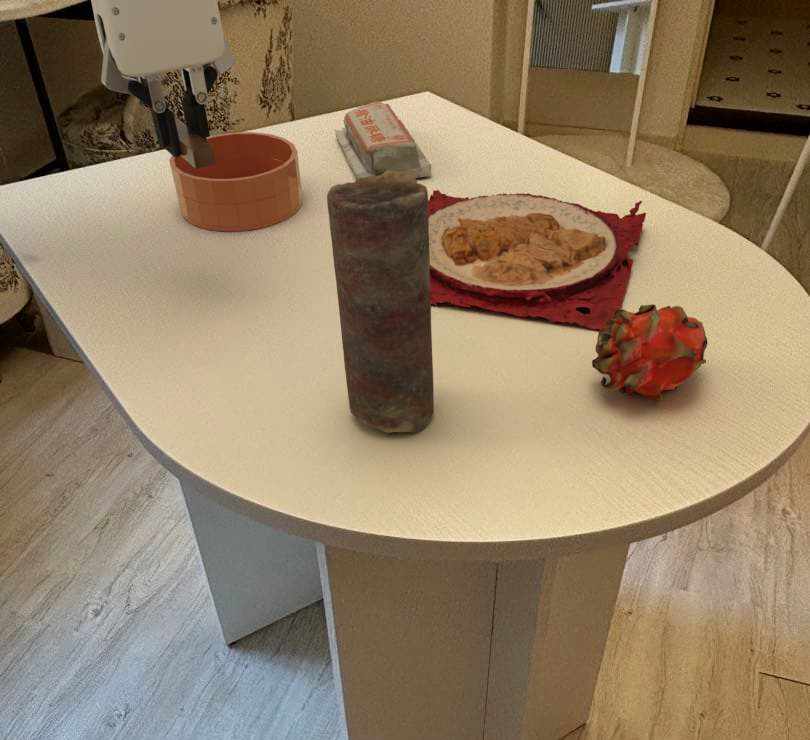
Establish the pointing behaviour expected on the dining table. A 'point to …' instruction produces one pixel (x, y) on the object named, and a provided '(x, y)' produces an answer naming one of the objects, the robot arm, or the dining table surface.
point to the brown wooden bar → (194, 147)
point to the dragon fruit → (649, 350)
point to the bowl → (240, 183)
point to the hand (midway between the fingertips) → (186, 148)
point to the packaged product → (380, 143)
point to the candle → (384, 298)
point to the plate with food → (530, 256)
